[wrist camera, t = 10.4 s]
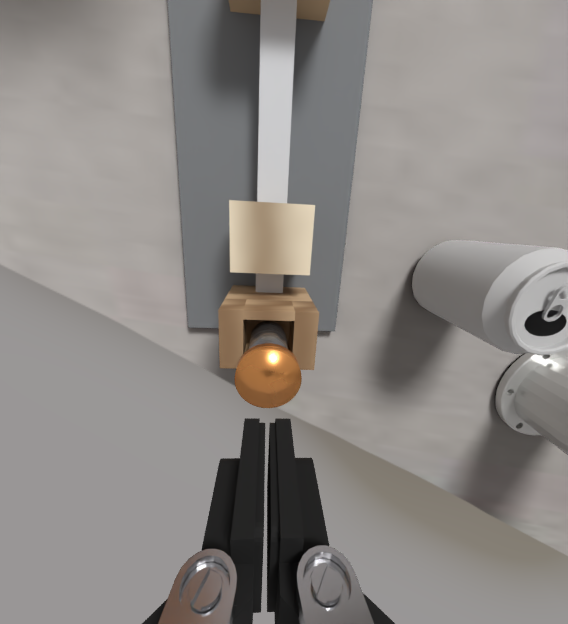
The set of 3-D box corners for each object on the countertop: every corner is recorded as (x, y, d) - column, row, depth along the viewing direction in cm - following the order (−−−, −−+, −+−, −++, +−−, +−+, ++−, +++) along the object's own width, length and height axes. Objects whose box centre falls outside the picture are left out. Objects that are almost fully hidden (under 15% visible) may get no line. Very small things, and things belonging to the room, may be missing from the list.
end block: (304, 287, 27) (319, 312, 19) (301, 330, 28) (313, 369, 20) (232, 285, 26) (218, 309, 19) (233, 328, 27) (219, 368, 20)
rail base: (371, -15, 21) (419, -130, 14) (332, 327, 29) (351, 358, 22) (169, -38, 20) (118, -173, 13) (190, 323, 28) (166, 354, 21)
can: (400, 307, 29) (485, 361, 17) (418, 235, 27) (529, 243, 15) (465, 313, 30) (589, 369, 18) (488, 243, 27) (646, 256, 16)
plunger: (293, 315, 20) (303, 350, 14) (291, 359, 21) (299, 408, 15) (244, 313, 19) (234, 348, 14) (243, 358, 21) (234, 407, 15)
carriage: (305, 209, 24) (315, 204, 19) (301, 265, 26) (309, 275, 21) (237, 205, 24) (229, 200, 19) (237, 262, 25) (229, 272, 20)
